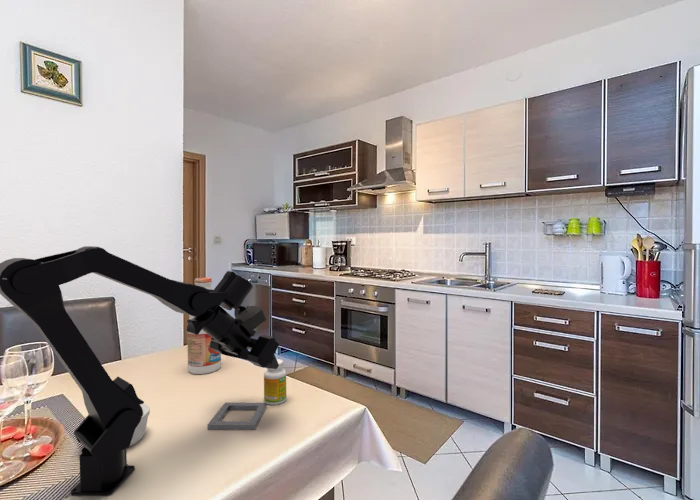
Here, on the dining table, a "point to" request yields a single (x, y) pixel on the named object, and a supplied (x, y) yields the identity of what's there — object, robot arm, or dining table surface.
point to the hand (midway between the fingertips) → (264, 362)
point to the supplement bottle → (275, 384)
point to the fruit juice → (202, 345)
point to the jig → (237, 425)
